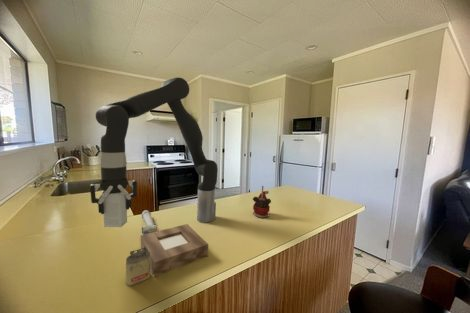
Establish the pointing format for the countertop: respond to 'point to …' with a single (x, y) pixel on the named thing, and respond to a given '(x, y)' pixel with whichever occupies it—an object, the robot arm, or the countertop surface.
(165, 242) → the pad
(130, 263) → the beige logo box
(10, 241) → the countertop surface
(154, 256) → the holder block
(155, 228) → the white flashlight
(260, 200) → the mouse candy apple
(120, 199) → the skincare box
